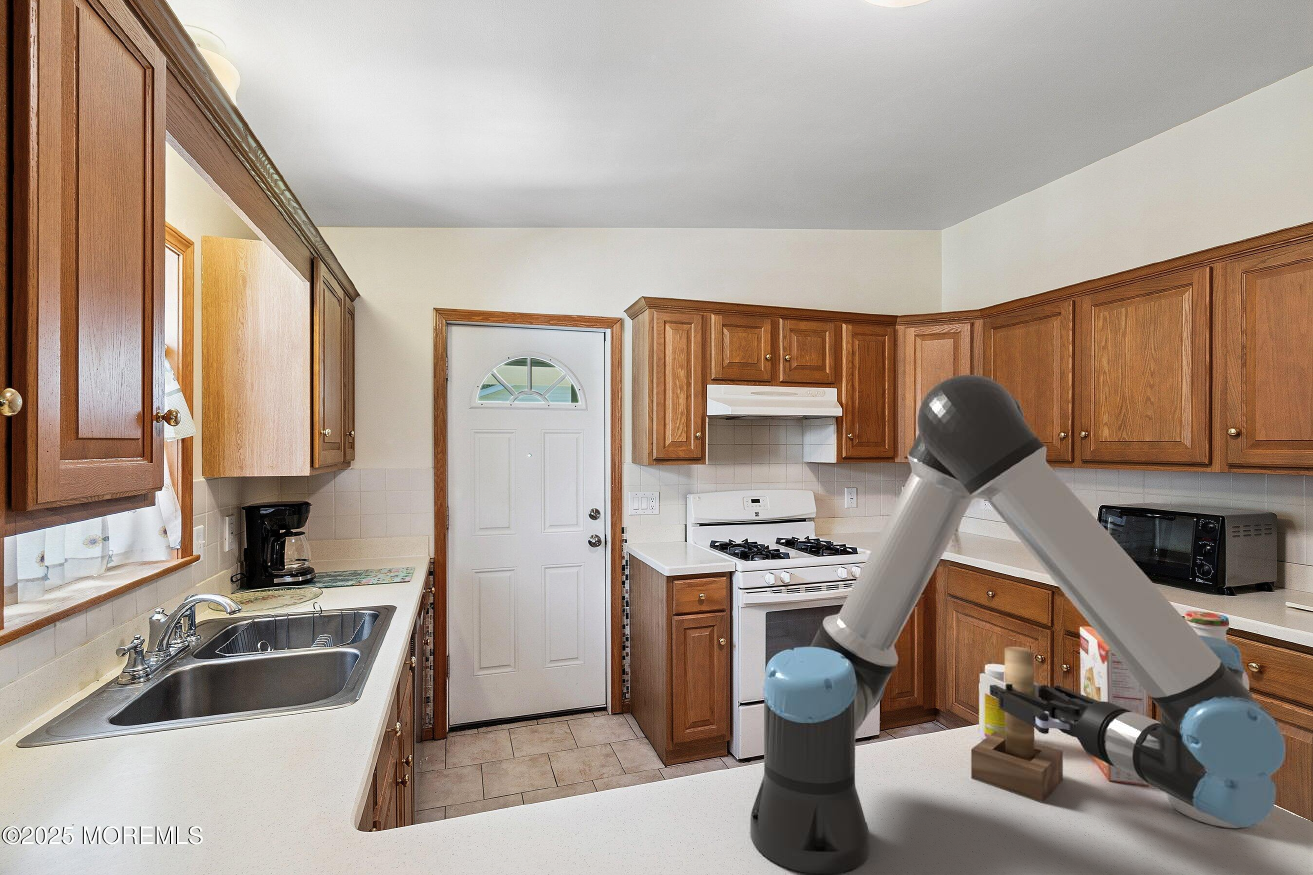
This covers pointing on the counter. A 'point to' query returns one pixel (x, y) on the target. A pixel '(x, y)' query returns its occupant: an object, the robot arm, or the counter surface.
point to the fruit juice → (1217, 628)
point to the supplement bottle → (991, 706)
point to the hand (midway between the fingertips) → (994, 680)
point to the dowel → (1022, 678)
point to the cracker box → (1109, 688)
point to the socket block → (1017, 768)
